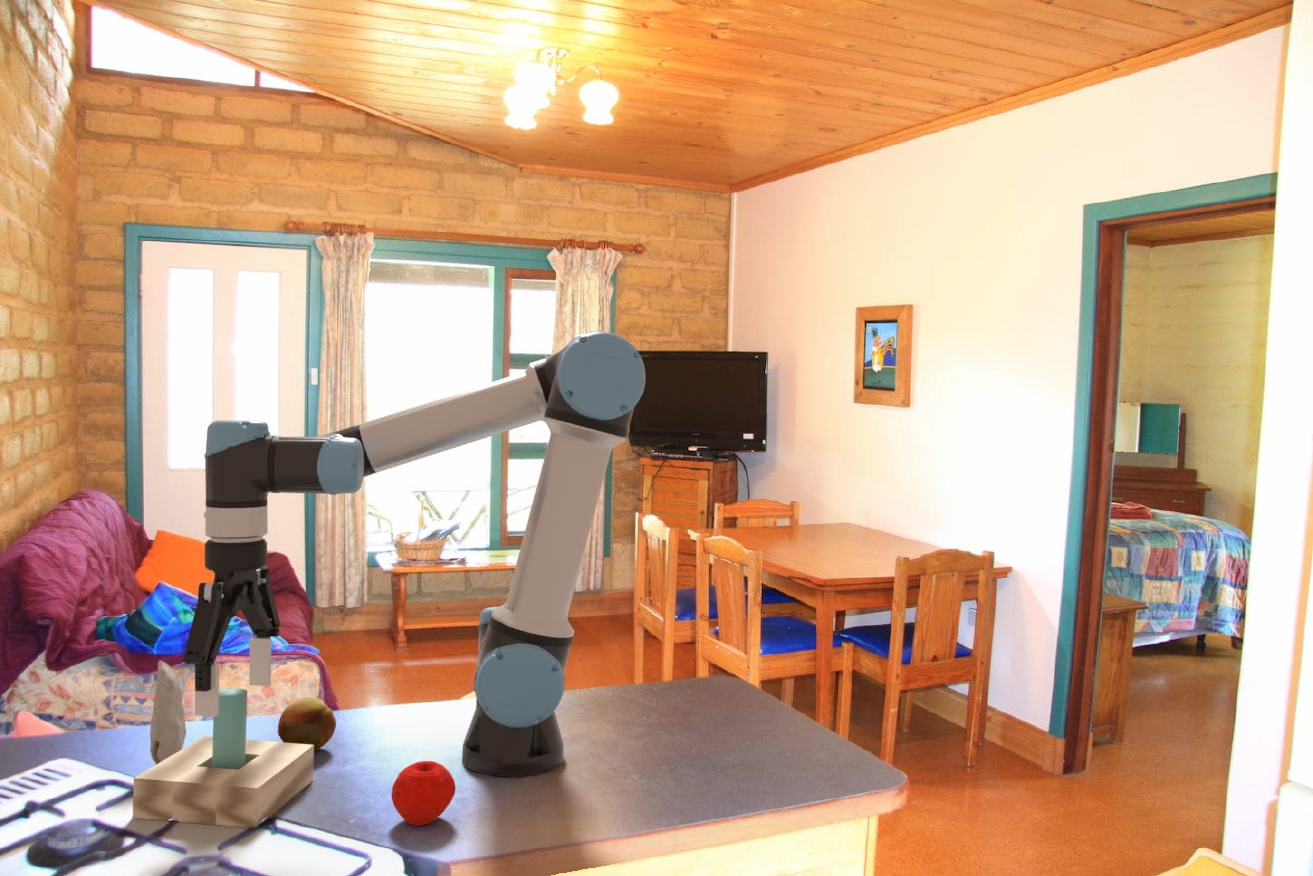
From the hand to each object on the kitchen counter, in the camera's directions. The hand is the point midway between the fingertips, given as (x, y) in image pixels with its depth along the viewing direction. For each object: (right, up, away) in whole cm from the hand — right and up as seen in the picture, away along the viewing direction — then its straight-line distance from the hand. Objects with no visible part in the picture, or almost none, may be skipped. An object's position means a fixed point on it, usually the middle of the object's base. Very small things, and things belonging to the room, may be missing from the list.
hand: (234, 699), depth 130 cm
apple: (+26, -15, -4) cm, 30 cm away
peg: (-1, -13, 0) cm, 13 cm away
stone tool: (-14, -12, +11) cm, 22 cm away
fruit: (+3, -13, +19) cm, 23 cm away
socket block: (-1, -13, 0) cm, 13 cm away
